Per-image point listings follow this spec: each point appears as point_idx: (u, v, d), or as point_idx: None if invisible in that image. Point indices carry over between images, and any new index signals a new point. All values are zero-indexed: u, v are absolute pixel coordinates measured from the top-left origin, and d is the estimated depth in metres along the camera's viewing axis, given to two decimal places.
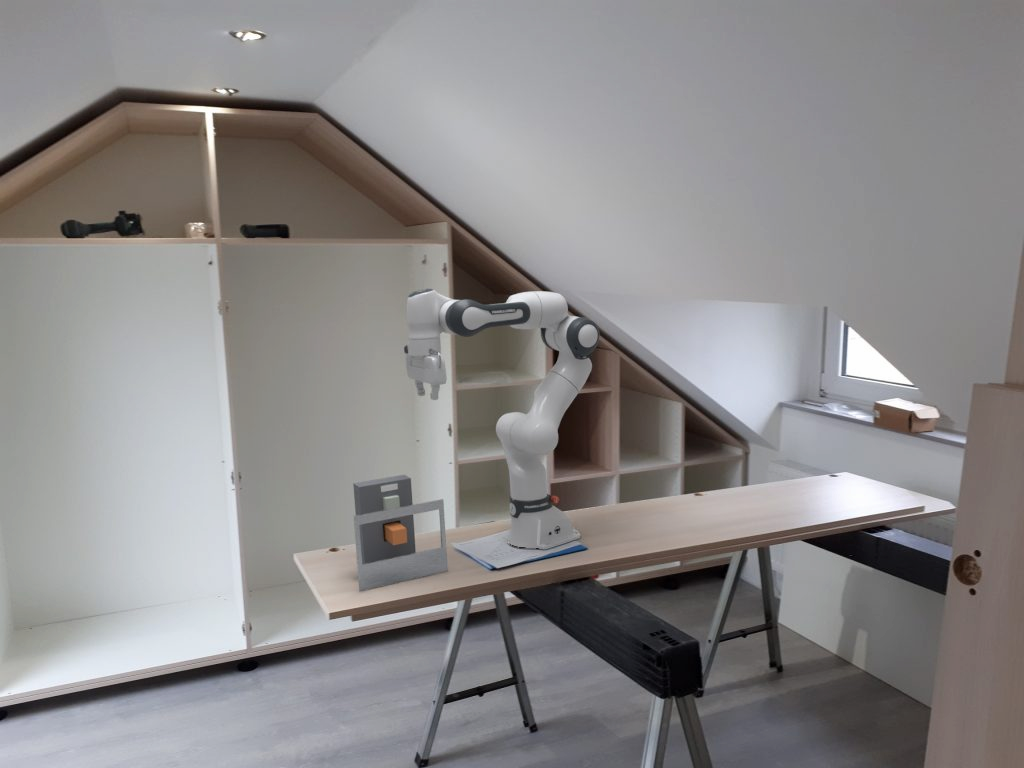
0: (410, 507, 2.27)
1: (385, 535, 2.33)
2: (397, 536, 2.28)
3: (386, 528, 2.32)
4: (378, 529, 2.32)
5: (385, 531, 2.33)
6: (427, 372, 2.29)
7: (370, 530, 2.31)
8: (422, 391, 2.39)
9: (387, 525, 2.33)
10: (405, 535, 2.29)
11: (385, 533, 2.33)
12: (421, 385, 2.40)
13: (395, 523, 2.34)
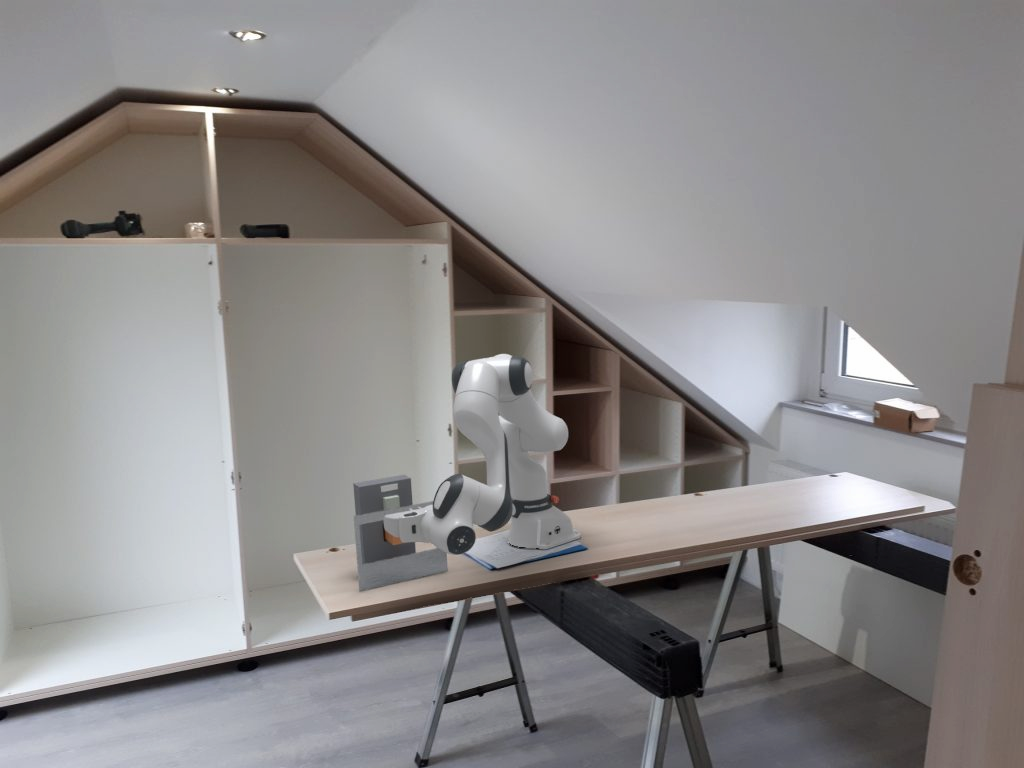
0: (410, 507, 2.27)
1: (385, 535, 2.33)
2: None
3: None
4: (378, 529, 2.32)
5: (385, 531, 2.33)
6: None
7: (370, 530, 2.31)
8: None
9: None
10: None
11: (385, 533, 2.33)
12: None
13: None
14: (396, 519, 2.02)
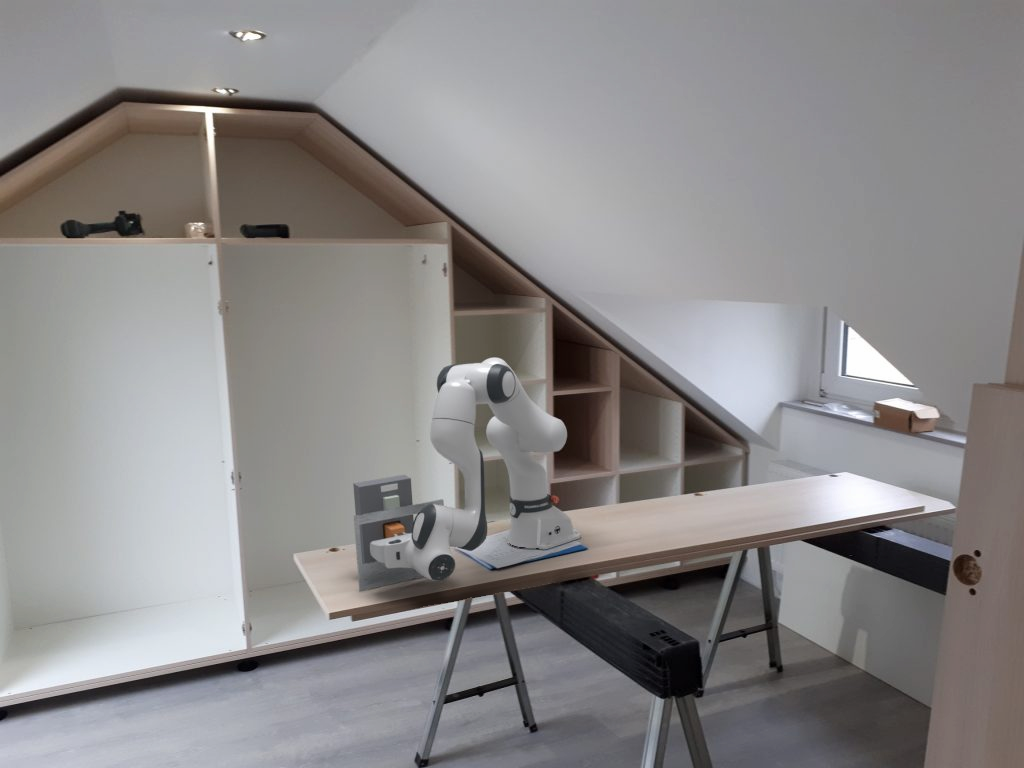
0: (410, 507, 2.27)
1: (383, 534, 2.34)
2: None
3: (384, 527, 2.33)
4: (378, 529, 2.32)
5: (383, 530, 2.34)
6: None
7: (370, 530, 2.31)
8: None
9: (385, 524, 2.34)
10: None
11: (383, 532, 2.34)
12: None
13: (393, 522, 2.35)
14: (381, 546, 2.15)
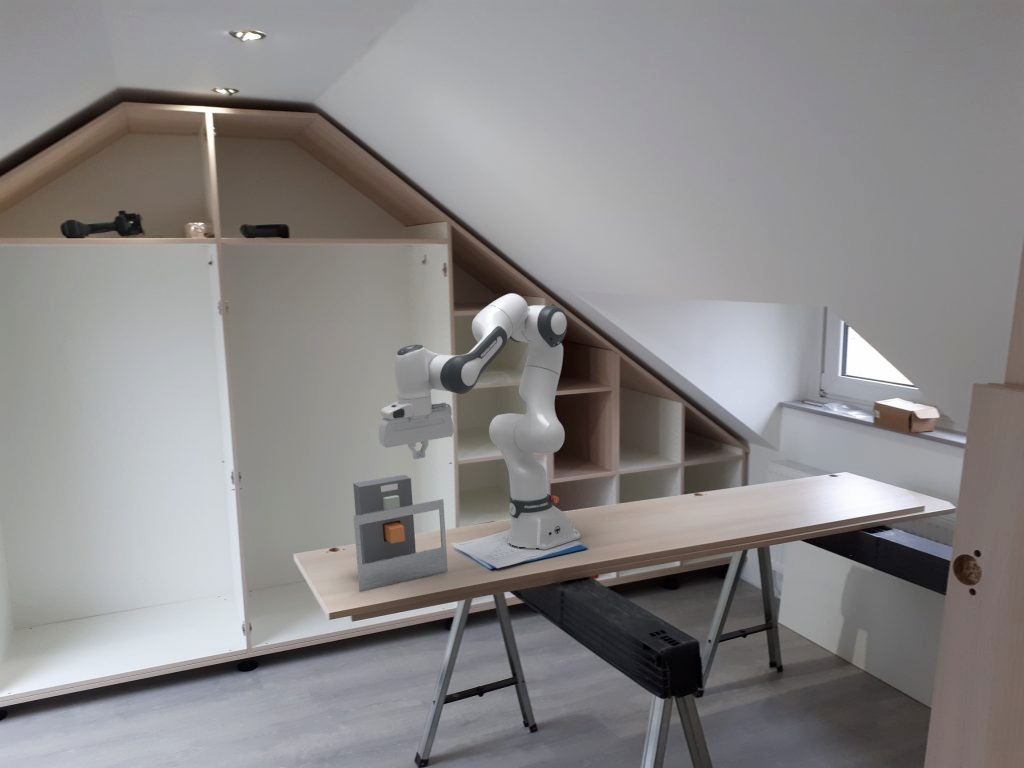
0: (410, 507, 2.27)
1: (383, 533, 2.35)
2: (395, 534, 2.30)
3: (384, 526, 2.33)
4: (378, 529, 2.32)
5: (383, 529, 2.34)
6: (438, 427, 2.25)
7: (370, 530, 2.31)
8: None
9: (385, 524, 2.34)
10: (403, 533, 2.31)
11: (383, 531, 2.34)
12: None
13: (393, 522, 2.35)
14: None
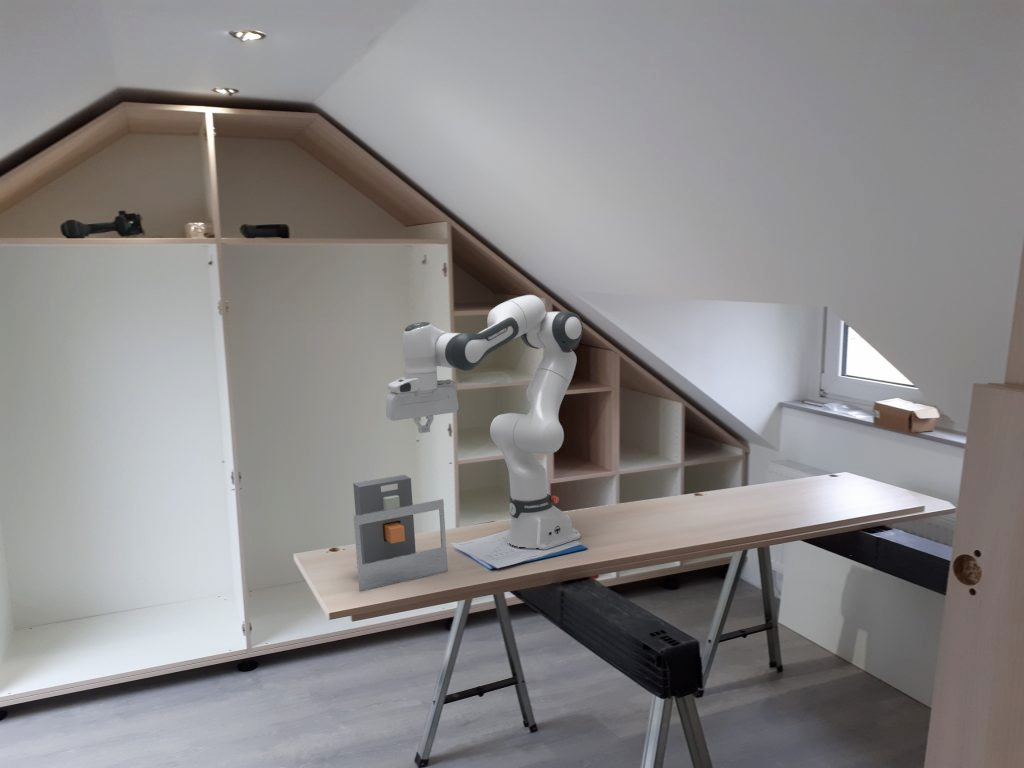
0: (410, 507, 2.27)
1: (383, 533, 2.35)
2: (395, 534, 2.30)
3: (384, 526, 2.33)
4: (378, 529, 2.32)
5: (383, 529, 2.34)
6: (443, 403, 2.31)
7: (370, 530, 2.31)
8: None
9: (385, 524, 2.34)
10: (403, 533, 2.31)
11: (383, 531, 2.34)
12: None
13: (393, 522, 2.35)
14: (388, 394, 2.28)
